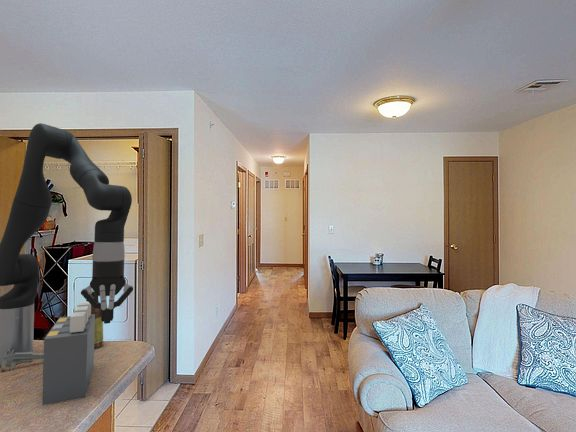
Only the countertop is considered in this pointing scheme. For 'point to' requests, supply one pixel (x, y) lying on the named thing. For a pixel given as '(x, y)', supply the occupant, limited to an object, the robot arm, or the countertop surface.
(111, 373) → the countertop surface
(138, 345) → the countertop surface
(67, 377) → the switch box
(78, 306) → the tab back
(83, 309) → the tab middle
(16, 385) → the countertop surface
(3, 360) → the caliper
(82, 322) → the tab front
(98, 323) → the sauce bottle
